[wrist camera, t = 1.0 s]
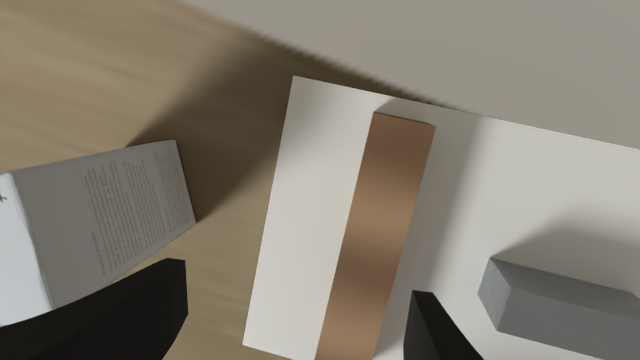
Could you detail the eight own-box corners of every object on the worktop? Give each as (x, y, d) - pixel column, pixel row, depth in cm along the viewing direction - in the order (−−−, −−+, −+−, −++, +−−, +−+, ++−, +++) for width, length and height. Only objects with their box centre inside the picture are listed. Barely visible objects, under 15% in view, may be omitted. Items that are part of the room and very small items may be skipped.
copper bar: (361, 364, 26) (358, 411, 22) (316, 352, 26) (305, 395, 22) (426, 122, 22) (436, 126, 18) (374, 111, 23) (372, 112, 19)
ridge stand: (723, 167, 21) (823, 186, 17) (603, 437, 25) (656, 517, 20) (296, 76, 24) (275, 69, 19) (247, 336, 28) (219, 385, 23)
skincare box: (119, 149, 26) (-85, 185, 15) (177, 138, 26) (10, 167, 14) (142, 235, 27) (-32, 332, 16) (199, 226, 27) (60, 322, 15)
